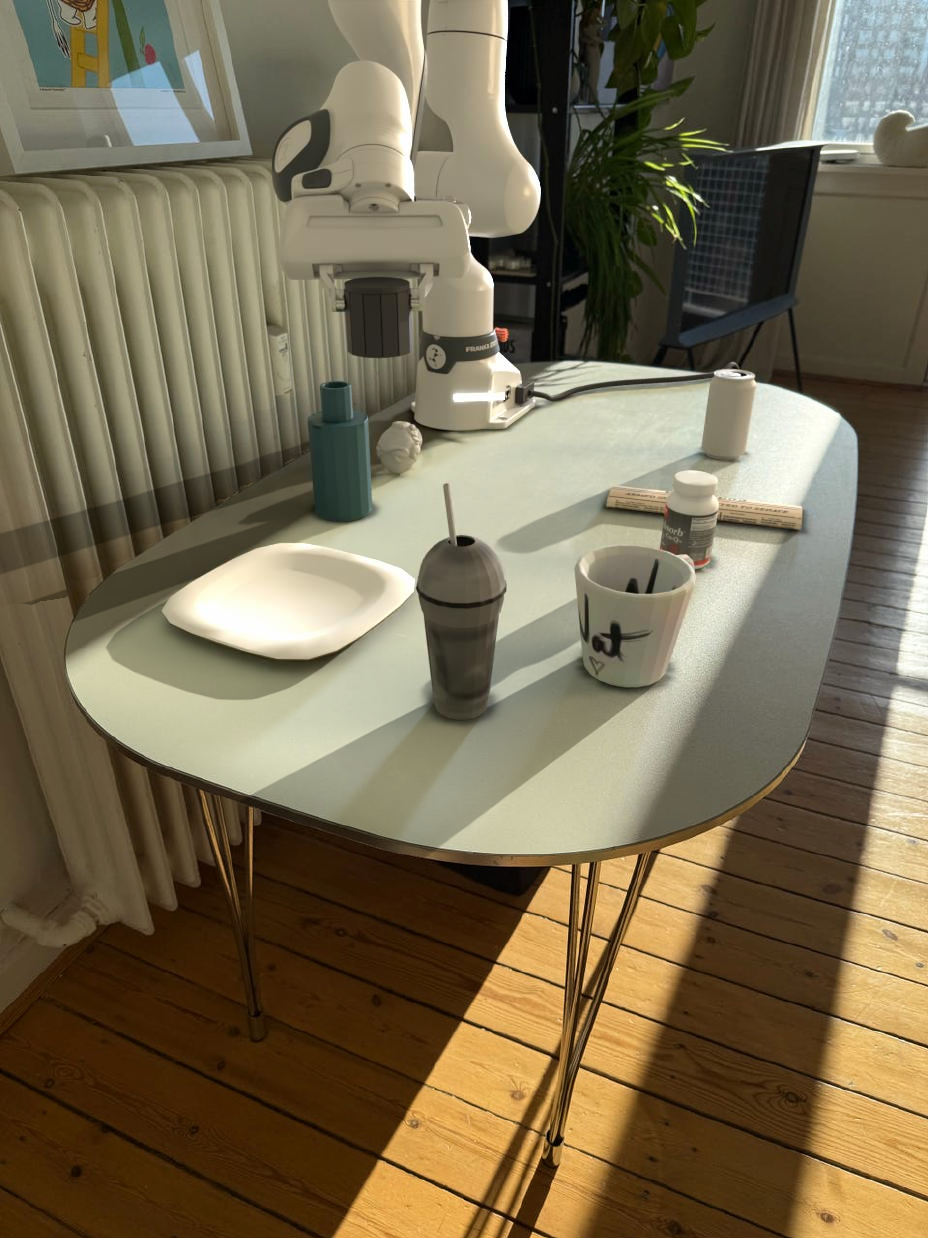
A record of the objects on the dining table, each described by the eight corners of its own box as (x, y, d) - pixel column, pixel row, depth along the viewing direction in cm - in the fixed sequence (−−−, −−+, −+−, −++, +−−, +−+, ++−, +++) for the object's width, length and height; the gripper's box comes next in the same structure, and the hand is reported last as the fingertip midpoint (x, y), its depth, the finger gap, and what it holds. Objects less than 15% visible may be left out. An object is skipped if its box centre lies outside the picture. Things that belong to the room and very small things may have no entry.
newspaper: (606, 509, 115) (607, 496, 114) (614, 490, 121) (615, 477, 120) (799, 533, 109) (802, 519, 108) (798, 511, 115) (801, 498, 114)
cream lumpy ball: (432, 469, 127) (431, 421, 124) (400, 483, 122) (398, 433, 119) (399, 460, 130) (398, 413, 127) (367, 474, 126) (364, 425, 122)
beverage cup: (495, 735, 74) (501, 507, 64) (409, 724, 75) (402, 499, 65) (509, 686, 80) (516, 472, 70) (429, 677, 81) (425, 465, 71)
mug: (544, 665, 83) (549, 567, 78) (640, 610, 92) (650, 520, 87) (637, 712, 76) (649, 609, 71) (730, 648, 85) (747, 553, 80)
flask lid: (376, 340, 101) (373, 274, 98) (423, 348, 98) (422, 281, 94) (335, 351, 97) (330, 283, 93) (384, 361, 93) (381, 290, 90)
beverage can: (753, 458, 132) (767, 376, 126) (717, 463, 130) (729, 380, 124) (727, 445, 137) (739, 365, 131) (691, 450, 135) (702, 369, 129)
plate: (313, 687, 79) (312, 671, 78) (136, 627, 88) (133, 611, 88) (438, 588, 96) (438, 574, 95) (278, 545, 105) (277, 532, 104)
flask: (341, 495, 119) (333, 373, 111) (383, 507, 115) (378, 383, 107) (303, 512, 114) (291, 386, 106) (345, 526, 110) (337, 396, 102)
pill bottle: (649, 553, 104) (658, 471, 99) (691, 546, 105) (703, 465, 100) (676, 574, 99) (687, 489, 94) (720, 566, 101) (733, 483, 96)
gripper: (467, 217, 102) (473, 324, 98) (284, 217, 100) (284, 326, 97) (470, 176, 96) (478, 288, 92) (276, 176, 94) (276, 290, 91)
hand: (377, 308), depth 94 cm, fingers closed on flask lid, 7 cm apart
